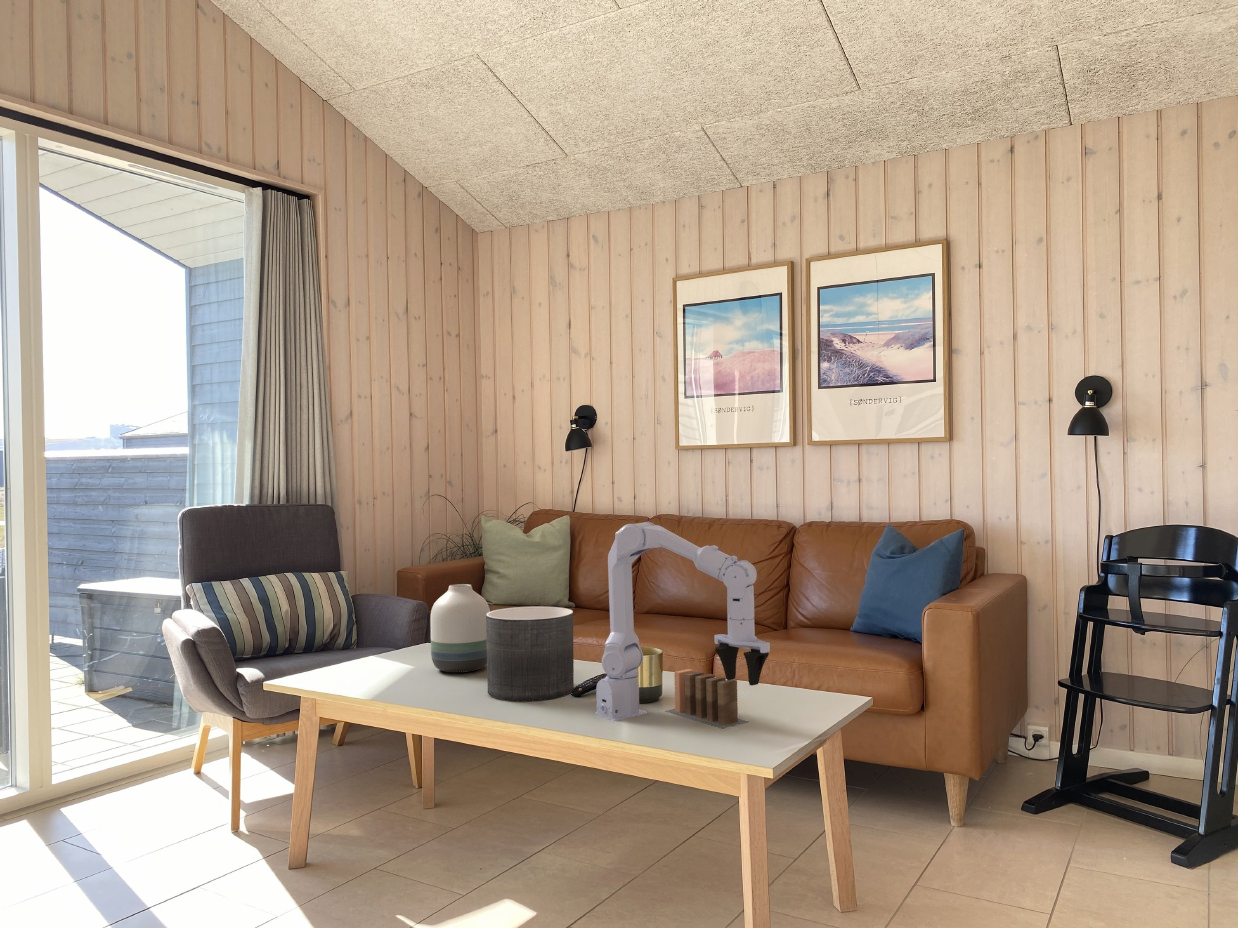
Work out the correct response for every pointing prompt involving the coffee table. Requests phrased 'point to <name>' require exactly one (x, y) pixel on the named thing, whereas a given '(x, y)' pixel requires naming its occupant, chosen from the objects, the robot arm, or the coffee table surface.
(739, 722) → the grey flat rectangular plate
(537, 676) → the planter
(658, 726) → the coffee table surface
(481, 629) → the vase
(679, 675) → the terracotta tile
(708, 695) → the walnut tile
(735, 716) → the walnut tile
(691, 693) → the walnut tile
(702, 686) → the walnut tile
